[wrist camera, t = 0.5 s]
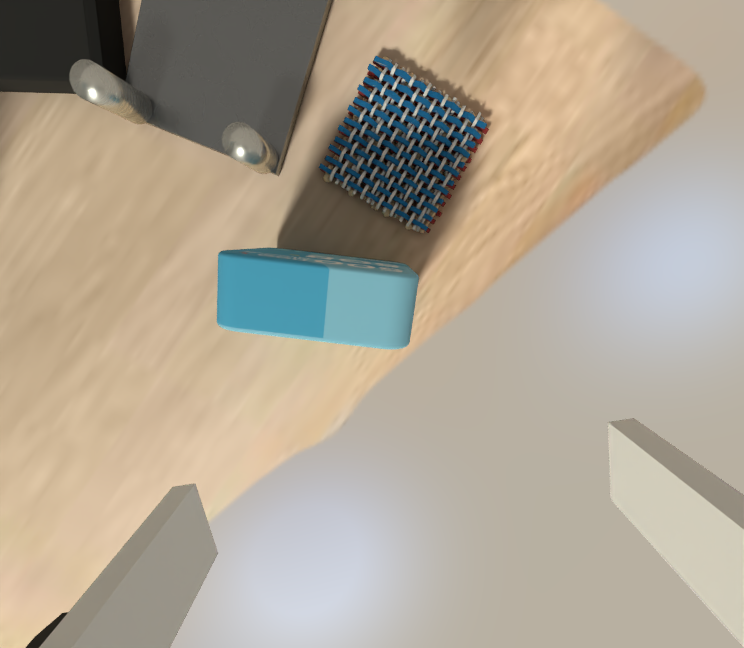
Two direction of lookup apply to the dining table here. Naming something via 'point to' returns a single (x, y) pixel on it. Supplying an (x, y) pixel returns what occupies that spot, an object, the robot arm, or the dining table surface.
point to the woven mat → (403, 145)
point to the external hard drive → (57, 42)
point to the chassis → (216, 73)
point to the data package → (316, 297)
